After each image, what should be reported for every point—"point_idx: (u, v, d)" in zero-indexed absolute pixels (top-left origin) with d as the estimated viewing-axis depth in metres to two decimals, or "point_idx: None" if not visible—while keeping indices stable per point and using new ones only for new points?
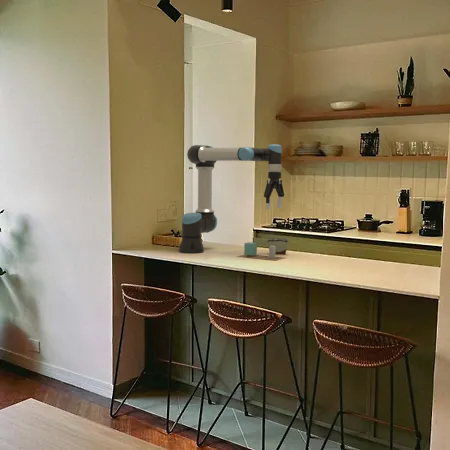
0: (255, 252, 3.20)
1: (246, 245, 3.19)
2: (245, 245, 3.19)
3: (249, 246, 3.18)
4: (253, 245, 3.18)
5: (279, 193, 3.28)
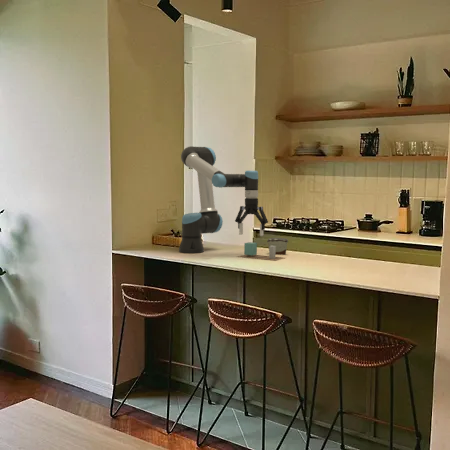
0: (255, 252, 3.20)
1: (246, 245, 3.19)
2: (245, 245, 3.19)
3: (249, 246, 3.18)
4: (253, 245, 3.18)
5: None
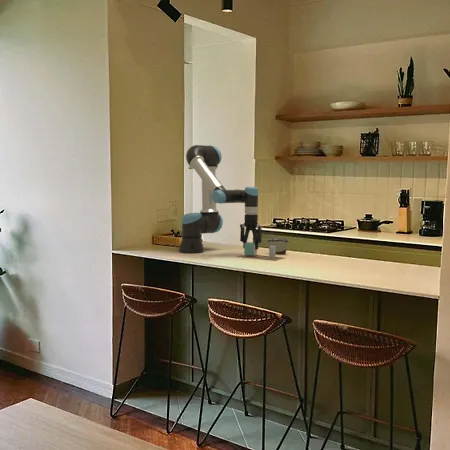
0: None
1: (246, 245, 3.19)
2: (245, 245, 3.19)
3: (249, 246, 3.18)
4: None
5: None
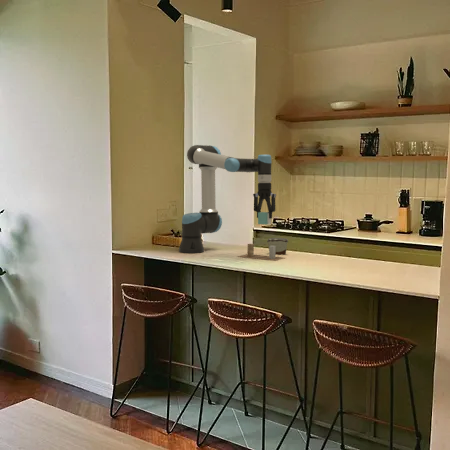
0: None
1: (260, 214, 3.12)
2: (259, 214, 3.12)
3: (263, 215, 3.11)
4: None
5: None
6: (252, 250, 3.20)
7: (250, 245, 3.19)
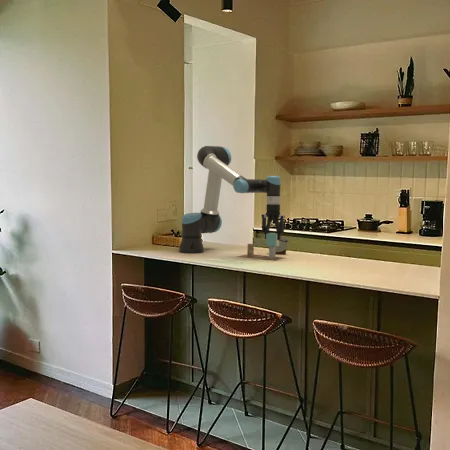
0: None
1: (268, 236, 3.10)
2: (267, 236, 3.11)
3: (271, 237, 3.09)
4: (275, 236, 3.09)
5: None
6: (252, 250, 3.20)
7: (250, 245, 3.19)
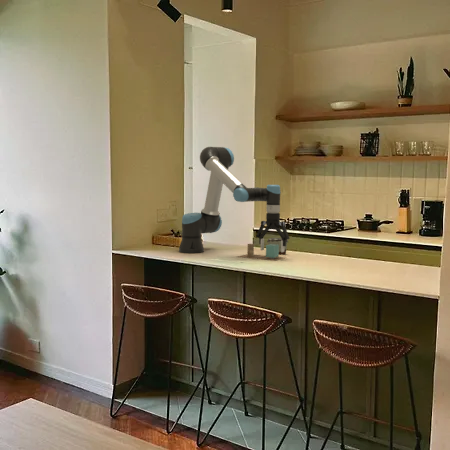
0: (277, 254, 3.13)
1: (268, 247, 3.11)
2: (267, 247, 3.11)
3: (271, 248, 3.10)
4: (275, 247, 3.10)
5: None
6: (252, 250, 3.20)
7: (250, 245, 3.19)
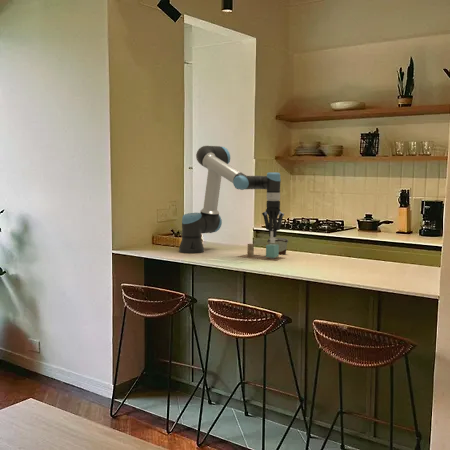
0: (277, 254, 3.13)
1: (268, 247, 3.11)
2: (267, 247, 3.11)
3: (271, 248, 3.10)
4: (275, 247, 3.10)
5: None
6: (252, 250, 3.20)
7: (250, 245, 3.19)
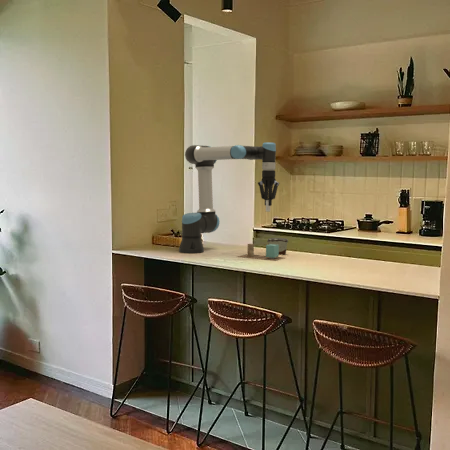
0: (277, 254, 3.13)
1: (268, 247, 3.11)
2: (267, 247, 3.11)
3: (271, 248, 3.10)
4: (275, 247, 3.10)
5: None
6: (252, 250, 3.20)
7: (250, 245, 3.19)
